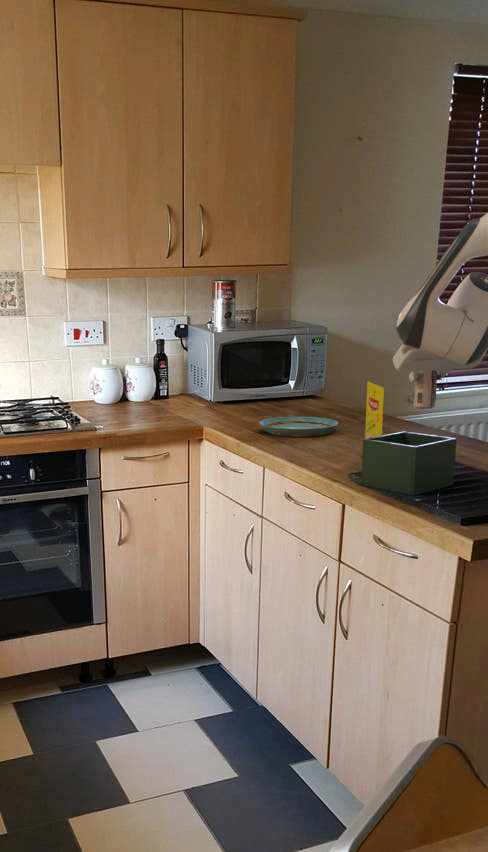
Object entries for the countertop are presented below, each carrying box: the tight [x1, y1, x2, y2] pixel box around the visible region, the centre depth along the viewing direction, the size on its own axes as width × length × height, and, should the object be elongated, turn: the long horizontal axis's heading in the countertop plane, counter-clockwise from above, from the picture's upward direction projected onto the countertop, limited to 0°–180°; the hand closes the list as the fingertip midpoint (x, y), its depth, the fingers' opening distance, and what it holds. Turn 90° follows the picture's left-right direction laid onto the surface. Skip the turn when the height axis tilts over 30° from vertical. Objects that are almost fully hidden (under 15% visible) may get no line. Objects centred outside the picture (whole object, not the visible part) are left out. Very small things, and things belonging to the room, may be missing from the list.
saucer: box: [259, 416, 339, 438], centre depth 274 cm, size 24×24×3 cm
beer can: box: [413, 370, 438, 410], centre depth 200 cm, size 5×5×12 cm
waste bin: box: [360, 430, 458, 496], centre depth 199 cm, size 15×15×11 cm
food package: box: [364, 381, 385, 439], centre depth 223 cm, size 15×1×20 cm, turn 2°
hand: (424, 378), depth 200 cm, fingers closed on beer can, 5 cm apart
